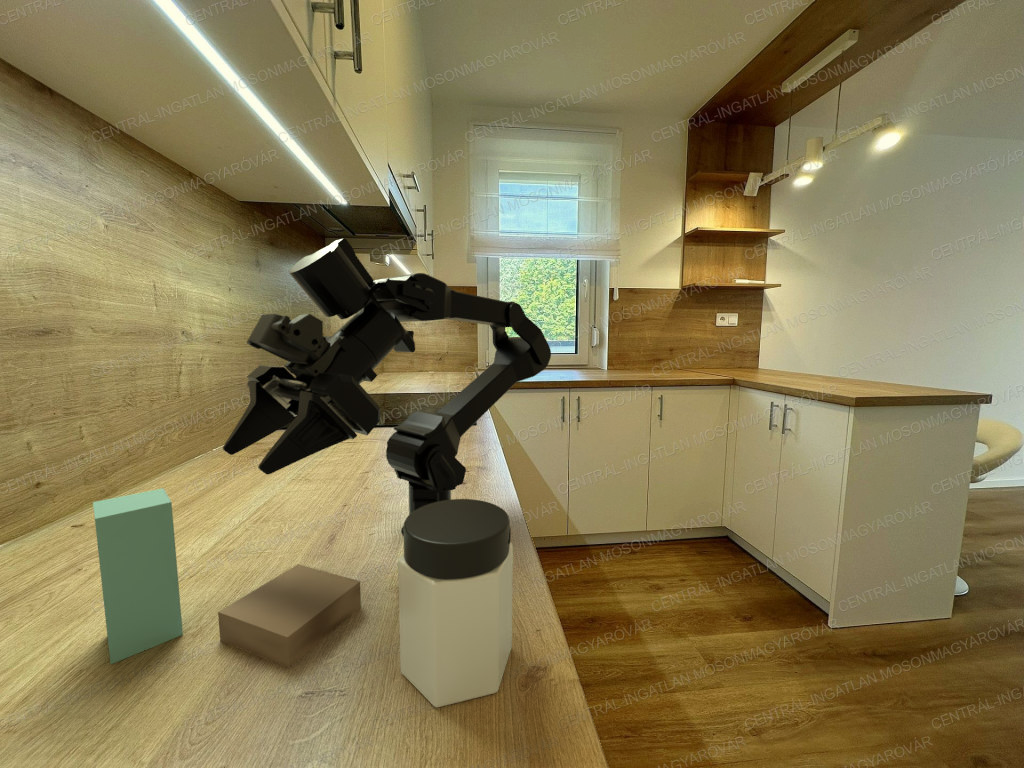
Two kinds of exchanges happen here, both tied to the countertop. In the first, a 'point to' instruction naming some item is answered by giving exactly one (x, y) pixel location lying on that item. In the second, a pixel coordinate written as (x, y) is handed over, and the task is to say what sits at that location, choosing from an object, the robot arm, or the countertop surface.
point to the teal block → (138, 572)
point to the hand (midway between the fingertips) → (243, 461)
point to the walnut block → (289, 614)
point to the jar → (455, 599)
